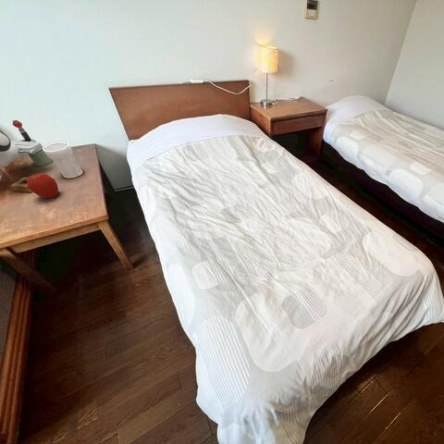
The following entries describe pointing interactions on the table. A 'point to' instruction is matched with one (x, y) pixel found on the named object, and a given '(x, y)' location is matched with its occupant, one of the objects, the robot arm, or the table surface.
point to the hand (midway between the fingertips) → (30, 140)
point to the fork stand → (21, 185)
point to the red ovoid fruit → (43, 185)
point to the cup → (63, 159)
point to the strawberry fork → (22, 131)
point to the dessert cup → (40, 158)
